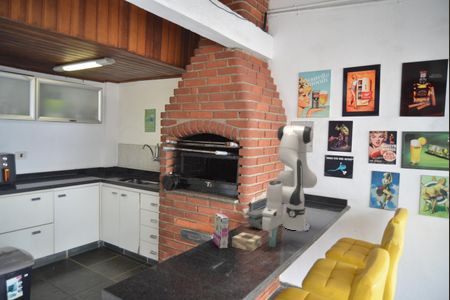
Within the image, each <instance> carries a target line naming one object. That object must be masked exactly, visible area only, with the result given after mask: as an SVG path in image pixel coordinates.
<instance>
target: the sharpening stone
mask: <svg viewBox="0 0 450 300" xmlns="http://www.w3.org/2000/svg"><path fill="white" fill-rule="evenodd" d="M264 209H265V207H264V208H261V209H256V210H255V209H254V210H251V211H248V212H245V215H246V216H248V217H246V222H248V224H249V226H250V227H251V228H253V227H255V228H254V229H256V228H258V229H257V230H260V229H263V228H262V218H263V215H262V212H263V210H264Z"/></svg>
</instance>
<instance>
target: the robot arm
mask: <svg viewBox="0 0 450 300" xmlns="http://www.w3.org/2000/svg"><path fill="white" fill-rule="evenodd" d="M276 135H277V139H278V141H280V143H279V145H278V146H279V148H278V155H277V158H278V159H279V161H280V163H281V164H283V165H284V166H287V167H289V168H290V170H289V169H286V170H280V171H279V172H278V174H277V180H271V181H268V184H267V188H266V202H265V207H264V208H265V209H264V210H263V212H262V215H263V218H262V228H263V231H265V232H268V237H269V236H270V237H272V236H273V233H272V230H273V229H274V228H275V227H276V234H277V232H278V229H279V228H278V227H279V226H281V224H283V226H284V227H285V228H287V229H291V230H303V229H305V227H306V225H307V224H308V216H307V215H306V207H305V194H304V193H305V192H304V189H310V188H311V189H312V188H315V186H316V185H317V183H318V177H317V175H316V173H315V172H313V171H312V170H311V169H310V167H309V165H308V162H307V151H308V150H307V145H308V144H310V143H312V140H313V138H314V132H313V129H312V127H310V126H308V125H305V126H303V125H296V124H295V125H281V126H279V127H278V129H277V134H276ZM283 204H286V205H287V206H286V208H285V212H286V213H284V212H283ZM284 227H283V228H284ZM285 228H284V229H285ZM287 229H286V230H287Z"/></svg>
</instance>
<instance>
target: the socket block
mask: <svg viewBox="0 0 450 300" xmlns="http://www.w3.org/2000/svg"><path fill="white" fill-rule="evenodd" d="M262 240H263V236H261V235H256V234H252V233H250V232H249V233H247V232H240V233H239V234H235V236H232V237H231V247H232V248H236V249H239V250H243V251H247V252H251V253H252V252H253V251H255V250H257V249H258V248H260V247H261V246H262V245H263V244H262V243H263V242H262Z"/></svg>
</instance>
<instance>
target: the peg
mask: <svg viewBox="0 0 450 300" xmlns="http://www.w3.org/2000/svg"><path fill="white" fill-rule="evenodd" d="M272 233H273V236H272V237H270V236H269V235H268V247H269V248H276V242H277V241H276V239H277V233H276V227H275V228H274V229H273V230H272Z"/></svg>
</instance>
